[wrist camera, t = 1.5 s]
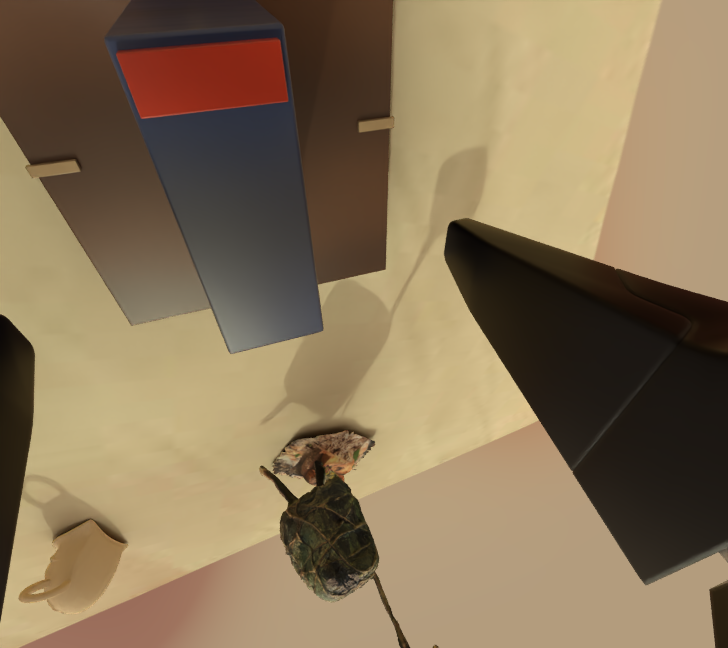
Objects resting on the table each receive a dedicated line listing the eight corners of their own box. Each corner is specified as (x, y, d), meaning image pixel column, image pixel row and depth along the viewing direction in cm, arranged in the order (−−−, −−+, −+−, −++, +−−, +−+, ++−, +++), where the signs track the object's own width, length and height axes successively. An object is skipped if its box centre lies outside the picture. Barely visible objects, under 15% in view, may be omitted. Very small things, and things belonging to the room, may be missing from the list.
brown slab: (368, 238, 22) (388, 271, 20) (134, 285, 19) (128, 329, 17) (364, -158, 12) (404, -178, 10) (-123, -170, 9) (-211, -201, 7)
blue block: (289, 235, 17) (326, 337, 12) (217, 249, 16) (230, 361, 12) (245, -10, 11) (286, 24, 7) (131, -4, 10) (99, 38, 6)
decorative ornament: (80, 559, 36) (69, 629, 32) (25, 528, 30) (4, 610, 26) (128, 544, 37) (123, 610, 33) (84, 511, 31) (71, 587, 27)
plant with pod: (303, 406, 31) (399, 773, 17) (383, 438, 39) (491, 707, 25) (235, 460, 33) (274, 825, 19) (323, 480, 41) (395, 748, 27)
